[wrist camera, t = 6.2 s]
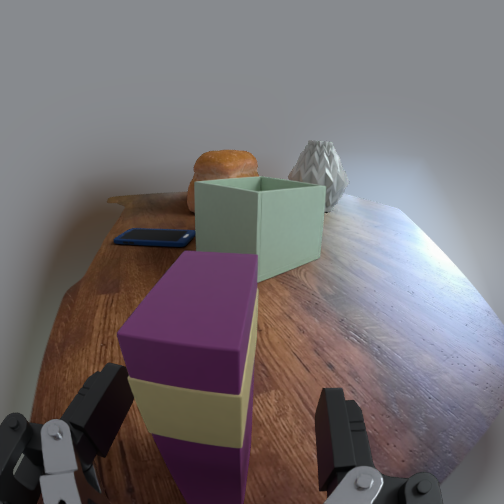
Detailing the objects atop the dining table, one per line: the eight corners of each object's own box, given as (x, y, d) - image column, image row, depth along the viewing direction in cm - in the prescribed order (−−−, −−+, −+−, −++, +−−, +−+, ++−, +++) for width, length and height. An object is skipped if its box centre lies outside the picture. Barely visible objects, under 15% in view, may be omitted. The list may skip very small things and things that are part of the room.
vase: (274, 207, 77) (277, 138, 70) (311, 201, 87) (315, 142, 80) (323, 219, 65) (328, 140, 59) (357, 212, 75) (362, 146, 69)
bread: (181, 214, 67) (180, 150, 62) (224, 196, 90) (224, 149, 85) (233, 218, 63) (234, 149, 58) (265, 199, 87) (266, 150, 81)
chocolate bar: (206, 439, 14) (183, 249, 10) (251, 444, 14) (259, 253, 10) (189, 509, 9) (112, 333, 5) (242, 517, 9) (242, 352, 5)
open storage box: (259, 236, 51) (261, 176, 48) (319, 257, 42) (326, 186, 39) (196, 252, 43) (194, 181, 39) (255, 283, 34) (257, 192, 30)
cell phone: (185, 247, 45) (184, 243, 45) (112, 243, 46) (111, 239, 46) (197, 234, 52) (197, 230, 51) (130, 231, 53) (130, 227, 52)
